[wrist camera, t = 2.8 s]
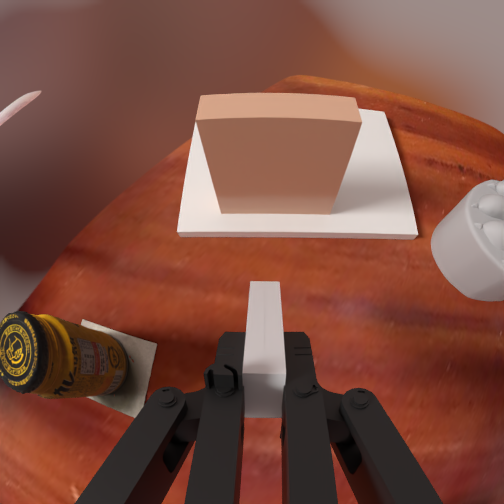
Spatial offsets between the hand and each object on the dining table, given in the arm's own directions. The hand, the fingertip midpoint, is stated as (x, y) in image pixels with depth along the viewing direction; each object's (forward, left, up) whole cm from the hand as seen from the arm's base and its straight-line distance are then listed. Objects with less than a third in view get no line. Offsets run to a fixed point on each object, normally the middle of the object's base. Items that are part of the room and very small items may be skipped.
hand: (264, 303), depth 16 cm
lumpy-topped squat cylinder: (-23, -7, -10) cm, 26 cm away
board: (-3, -17, -10) cm, 20 cm away
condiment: (+14, +5, -10) cm, 18 cm away
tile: (-1, -11, -8) cm, 14 cm away
